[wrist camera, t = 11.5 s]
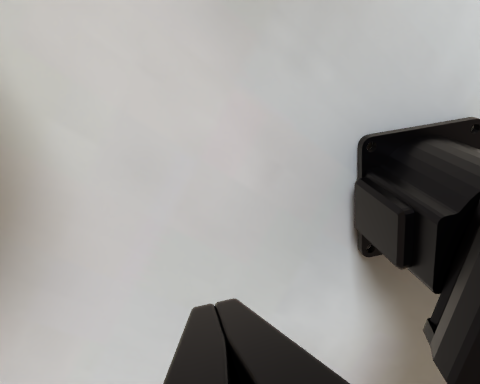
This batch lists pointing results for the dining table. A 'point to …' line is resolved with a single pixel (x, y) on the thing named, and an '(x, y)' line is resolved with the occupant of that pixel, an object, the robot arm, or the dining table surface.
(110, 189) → the dining table surface
